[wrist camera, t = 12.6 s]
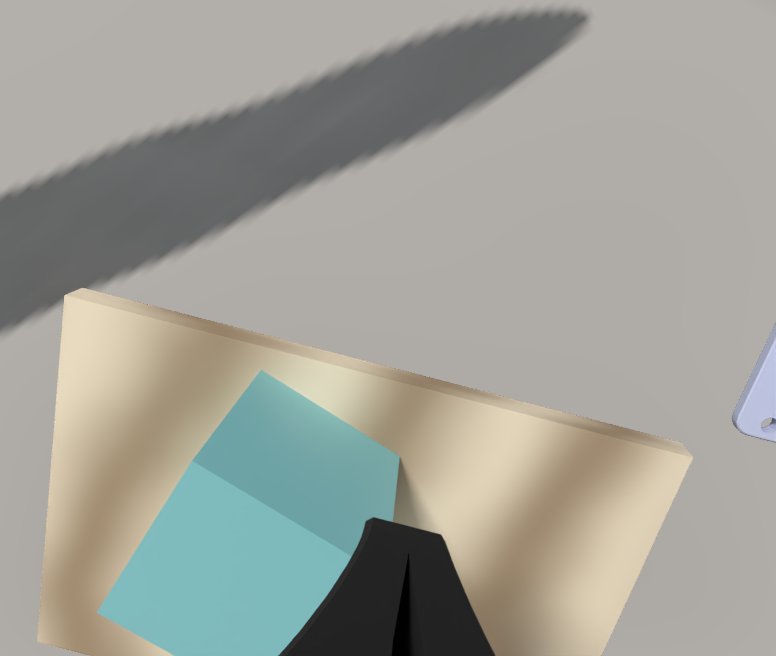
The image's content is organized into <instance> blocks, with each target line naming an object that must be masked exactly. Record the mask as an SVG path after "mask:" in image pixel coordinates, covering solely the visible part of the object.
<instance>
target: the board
mask: <svg viewBox="0 0 776 656" xmlns="http://www.w3.org/2000/svg"><path fill="white" fill-rule="evenodd" d="M260 370H263V371H264V372H266V373H267V374H269V375H271V376H272V377H274V378H275V379H277V380H279V381H280V382H282V383H283V384H285V385H287V386H288V387H290V388H291V389H293V390H295V391H296V392H298V393H299V394H301V395H303V396H304V397H306V398H307V399H309V400H311V401H312V402H314V403H315V404H317V405H319V406H320V407H322V408H323V409H325V410H327V411H328V412H330V413H331V414H333V415H335V416H336V417H338V418H339V419H341V420H343V421H344V422H346V423H347V424H349V425H351V426H352V427H354V428H355V429H357V430H359V431H360V432H362V433H363V434H365V435H367V436H368V437H370V438H371V439H373V440H375V441H376V442H378V443H379V444H381V445H383V446H384V447H386V448H387V449H389V450H391V451H392V452H394V453H395V454H397V455H399V456H400V459H399V468H398V478H397V487H396V496H395V505H394V514H393V522H395V523H399V524H403V525H406V526H410V527H414V528H418V529H422V530H426V531H430V532H434V533H438V534H441V535H442V537H443V538H444V540H445V542H446V545H447V548H448V550H449V553H450V556H451V558H452V561H453V563H454V566H455V569H456V571H457V573H458V576H459V578H460V581H461V583H462V585H463V588H464V590H465V593H466V595H467V597H468V599H469V602H470V604H471V606H472V608H473V611H474V613H475V615H476V617H477V619H478V621H479V623H480V625H481V627H482V629H483V632H484V634H485V636H486V638H487V640H488V642H489V644H490V646H491V648H492V650H493V652H494V654H495V656H602V654H603V652H604V650H605V647H606V645H607V643H608V641H609V639H610V637H611V635H612V632H613V630H614V628H615V626H616V623H617V622H618V619H619V617H620V615H621V613H622V611H623V609H624V606H625V604H626V602H627V600H628V598H629V596H630V593H631V591H632V589H633V587H634V585H635V583H636V580H637V578H638V576H639V574H640V572H641V570H642V567H643V565H644V563H645V561H646V559H647V557H648V554H649V552H650V550H651V548H652V546H653V544H654V542H655V539H656V537H657V535H658V533H659V531H660V528H661V526H662V524H663V521H664V520H665V518H666V516H667V513H668V511H669V509H670V507H671V505H672V503H673V500H674V498H675V496H676V494H677V492H678V490H679V487H680V485H681V483H682V481H683V479H684V477H685V474H686V472H687V470H688V468H689V466H690V463H691V462H692V459H693V457H692V456H691V455H690V453H689V452H688V451H687V450H686V448H685V447H684V446H683V445H682V444H681V442H677V441H674V440H670V439H666V438H662V437H658V436H654V435H650V434H646V433H643V432H639V431H635V430H631V429H627V428H623V427H619V426H616V425H612V424H607V423H604V422H600V421H596V420H592V419H588V418H584V417H580V416H577V415H573V414H569V413H565V412H561V411H557V410H554V409H550V408H546V407H542V406H538V405H534V404H530V403H527V402H523V401H519V400H515V399H511V398H507V397H503V396H499V395H496V394H492V393H487V392H484V391H480V390H476V389H472V388H469V387H465V386H460V385H457V384H453V383H449V382H445V381H441V380H438V379H434V378H430V377H426V376H422V375H418V374H414V373H411V372H407V371H403V370H399V369H395V368H391V367H387V366H383V365H380V364H375V363H372V362H368V361H364V360H360V359H356V358H352V357H349V356H345V355H341V354H337V353H333V352H329V351H325V350H321V349H318V348H314V347H309V346H306V345H302V344H298V343H294V342H291V341H287V340H283V339H279V338H275V337H271V336H267V335H264V334H259V333H256V332H252V331H248V330H244V329H240V328H236V327H233V326H228V325H225V324H221V323H217V322H213V321H209V320H206V319H201V318H198V317H194V316H190V315H186V314H182V313H178V312H175V311H171V310H167V309H163V308H158V307H155V306H151V305H148V304H144V303H140V302H136V301H132V300H128V299H124V298H120V297H116V296H112V295H109V294H105V293H101V292H97V291H93V290H90V289H86V288H81V289H79V290H76V291H74V292H71V293H69V294H67V295H65V297H64V310H63V323H62V335H61V347H60V361H59V373H58V385H57V398H56V399H57V400H56V411H55V423H54V437H53V448H52V461H51V474H50V486H49V499H48V513H47V524H46V537H45V549H44V562H43V575H42V587H41V600H40V612H39V613H40V614H39V625H38V637H37V642H39V643H44V644H47V645H51V646H55V647H59V648H63V649H67V650H71V651H75V652H78V653H83V654H86V655H91V656H174V655H172V654H170V653H169V652H167V651H165V650H163V649H161V648H160V647H158V646H156V645H154V644H152V643H151V642H149V641H147V640H145V639H143V638H142V637H140V636H138V635H136V634H134V633H133V632H131V631H129V630H127V629H125V628H124V627H122V626H120V625H118V624H116V623H115V622H113V621H111V620H109V619H107V618H106V617H104V616H102V615H100V614H98V613H97V611H98V610H99V608H100V606H101V605H102V603H103V602H104V600H105V598H106V597H107V595H108V594H109V592H110V591H111V589H112V587H113V586H114V584H115V583H116V581H117V579H118V578H119V576H120V575H121V573H122V571H123V570H124V568H125V567H126V565H127V563H128V562H129V560H130V559H131V557H132V555H133V554H134V552H135V551H136V549H137V548H138V546H139V544H140V543H141V541H142V540H143V538H144V536H145V535H146V533H147V532H148V530H149V528H150V527H151V525H152V524H153V522H154V520H155V519H156V517H157V516H158V514H159V512H160V511H161V509H162V508H163V506H164V505H165V503H166V501H167V500H168V498H169V497H170V495H171V493H172V492H173V490H174V489H175V487H176V485H177V484H178V482H179V481H180V479H181V477H182V476H183V474H184V473H185V471H186V469H187V468H188V466H189V465H190V463H191V462H192V460H193V459H194V457H195V456H196V455H197V453H198V452H199V451H200V450H201V448H202V447H203V446H204V444H205V443H206V442H207V440H208V439H209V438H210V436H211V435H212V434H213V432H214V431H215V430H216V428H217V427H218V426H219V424H220V423H221V422H222V421H223V419H224V418H225V417H226V415H227V414H228V413H229V411H230V410H231V409H232V407H233V406H234V405H235V403H236V402H237V401H238V399H239V398H240V397H241V395H242V394H243V393H244V391H245V390H246V389H247V388H248V386H249V385H250V384H251V382H252V381H253V380H254V378H255V377H256V376H257V374H258V373H259V372H260Z"/></svg>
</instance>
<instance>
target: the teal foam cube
mask: <svg viewBox="0 0 776 656" xmlns="http://www.w3.org/2000/svg"><path fill="white" fill-rule="evenodd" d="M399 459H400V456H399V455H397V454H395V453H394V452H392V451H391V450H389V449H387V448H386V447H384V446H383V445H381V444H379V443H378V442H376V441H375V440H373V439H371V438H370V437H368V436H367V435H365V434H363V433H362V432H360V431H359V430H357V429H355V428H354V427H352V426H351V425H349V424H347V423H346V422H344V421H343V420H341V419H339V418H338V417H336V416H335V415H333V414H331V413H330V412H328V411H327V410H325V409H323V408H322V407H320V406H319V405H317V404H315V403H314V402H312V401H311V400H309V399H307V398H306V397H304V396H303V395H301V394H299V393H298V392H296V391H295V390H293V389H291V388H290V387H288V386H287V385H285V384H283V383H282V382H280V381H279V380H277V379H275V378H274V377H272V376H271V375H269V374H267V373H266V372H264V371H263V370H260V372H259V373H258V374H257V376H256V377H255V378H254V380H253V381H252V382H251V384H250V385H249V386H248V388H247V389H246V390H245V391H244V393H243V394H242V395H241V397H240V398H239V399H238V401H237V402H236V403H235V405H234V406H233V407H232V409H231V410H230V411H229V413H228V414H227V415H226V417H225V418H224V419H223V421H222V422H221V423H220V424H219V426H218V427H217V428H216V430H215V431H214V432H213V434H212V435H211V436H210V438H209V439H208V440H207V442H206V443H205V444H204V446H203V447H202V448H201V450H200V451H199V452H198V453H197V455H196V456H195V457H194V459H193V460H192V462H191V463H190V465H189V466H188V468H187V469H186V471H185V473H184V474H183V476H182V477H181V479H180V481H179V482H178V484H177V485H176V487H175V489H174V490H173V492H172V493H171V495H170V497H169V498H168V500H167V501H166V503H165V505H164V506H163V508H162V509H161V511H160V512H159V514H158V516H157V517H156V519H155V520H154V522H153V524H152V525H151V527H150V528H149V530H148V532H147V533H146V535H145V536H144V538H143V540H142V541H141V543H140V544H139V546H138V548H137V549H136V551H135V552H134V554H133V555H132V557H131V559H130V560H129V562H128V563H127V565H126V567H125V568H124V570H123V571H122V573H121V575H120V576H119V578H118V579H117V581H116V583H115V584H114V586H113V587H112V589H111V591H110V592H109V594H108V595H107V597H106V598H105V600H104V602H103V603H102V605H101V606H100V608H99V610H98V611H97V613H98V614H100V615H102V616H104V617H106V618H107V619H109V620H111V621H113V622H115V623H116V624H118V625H120V626H122V627H124V628H125V629H127V630H129V631H131V632H133V633H134V634H136V635H138V636H140V637H142V638H143V639H145V640H147V641H149V642H151V643H152V644H154V645H156V646H158V647H160V648H161V649H163V650H165V651H167V652H169V653H170V654H172V655H174V656H278V655H279V654H280V653H281V652H282V651H283V650H284V649H285V647H286V646H287V645H288V644H289V643H290V642H291V641H292V639H293V638H294V637H295V636H296V635H297V633H298V632H299V631H300V630H301V629H302V627H303V626H304V625H305V624H306V622H307V621H308V620H309V618H310V617H311V616H312V614H313V613H314V612H315V611H316V609H317V608H318V607H319V605H320V604H321V603H322V601H323V600H324V599H325V597H326V596H327V595H328V593H329V592H330V590H331V589H332V587H333V586H334V584H335V583H336V581H337V580H338V578H339V576H340V575H341V573H342V572H343V570H344V569H345V567H346V566H347V564H348V562H349V560H350V559H351V557H352V555H353V553H354V551H355V549H356V547H357V545H358V543H359V541H360V539H361V536H362V533H363V529H364V526H365V522H366V521H367V520H369V519H371V518H373V517H375V518H379V519H383V520H387V521H391V522H393V514H394V505H395V496H396V487H397V478H398V468H399Z"/></svg>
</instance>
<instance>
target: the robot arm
mask: <svg viewBox="0 0 776 656" xmlns="http://www.w3.org/2000/svg"><path fill="white" fill-rule="evenodd" d="M768 418H772V422H771V423H770V425H769V426H767V427H764V428H761V424H762V422H763V421H764V420H766V419H768ZM732 422H733V424H734V426H735V427H736V428H737V429H738V430H739V431H740V432H741V433H743V434H745V435H748V436H753V437H756V438H760V439H764V440H768V441H772V442H775V443H776V324H775V326H774V328H773V330H772V332H771V334H770V336H769V338H768V340H767V342H766V344H765V347H764V349H763V351H762V353H761V355H760V357H759V359H758V361H757V363H756V366H755V368H754V370H753V372H752V374H751V376H750V379H749V380H748V382H747V385H746V387H745V389H744V391H743V393H742V395H741V397H740V399H739V402H738V404H737V406H736V408H735V410H734V412H733V416H732ZM278 656H495V654H494V652H493V650H492V648H491V646H490V644H489V642H488V640H487V638H486V636H485V634H484V632H483V629H482V627H481V625H480V623H479V621H478V619H477V617H476V615H475V613H474V611H473V608H472V606H471V604H470V602H469V599H468V597H467V595H466V593H465V590H464V588H463V585H462V583H461V581H460V578H459V576H458V573H457V571H456V569H455V566H454V563H453V561H452V558H451V556H450V553H449V550H448V548H447V545H446V542H445V540H444V538H443V537H442V535H441V534H438V533H434V532H430V531H426V530H422V529H418V528H414V527H410V526H406V525H403V524H399V523H395V522H391V521H387V520H383V519H379V518H375V517H373V518H371V519H369V520H367V521H366V522H365V526H364V529H363V533H362V536H361V539H360V541H359V543H358V545H357V547H356V549H355V551H354V553H353V555H352V557H351V559H350V560H349V562H348V564H347V566H346V567H345V569H344V570H343V572H342V573H341V575H340V576H339V578H338V580H337V581H336V583H335V584H334V586H333V587H332V589H331V590H330V592H329V593H328V595H327V596H326V597H325V599H324V600H323V601H322V603H321V604H320V605H319V607H318V608H317V609H316V611H315V612H314V613H313V614H312V616H311V617H310V618H309V620H308V621H307V622H306V624H305V625H304V626H303V627H302V629H301V630H300V631H299V632H298V633H297V635H296V636H295V637H294V638H293V639H292V641H291V642H290V643H289V644H288V645H287V646H286V647H285V649H284V650H283V651H282V652H281V653H280V654H279V655H278Z"/></svg>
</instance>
